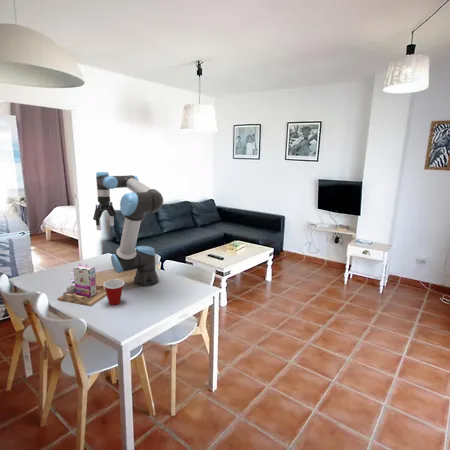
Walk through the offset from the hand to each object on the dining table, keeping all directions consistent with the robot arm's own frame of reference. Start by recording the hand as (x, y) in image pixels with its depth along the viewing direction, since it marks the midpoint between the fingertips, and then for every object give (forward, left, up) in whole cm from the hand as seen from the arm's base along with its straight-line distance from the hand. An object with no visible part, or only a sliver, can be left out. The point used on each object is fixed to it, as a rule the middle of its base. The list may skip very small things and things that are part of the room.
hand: (105, 227), depth 210 cm
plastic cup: (-31, +37, -32) cm, 58 cm away
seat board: (-10, +35, -32) cm, 48 cm away
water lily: (+9, +18, -32) cm, 38 cm away
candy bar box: (-11, +35, -31) cm, 48 cm away
